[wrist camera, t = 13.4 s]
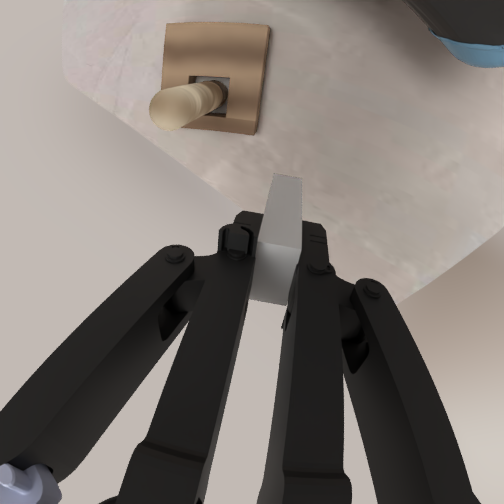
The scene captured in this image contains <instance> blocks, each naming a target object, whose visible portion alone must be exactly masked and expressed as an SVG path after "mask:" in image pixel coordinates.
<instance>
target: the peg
mask: <svg viewBox="0 0 504 504" xmlns="http://www.w3.org/2000/svg"><path fill="white" fill-rule="evenodd" d="M227 98H228V90H227V88H226V86H225V85H224V84H223V83H221V82H220V81H216V80H211V81H203V82H199V83H193V84H187V85H182V86H177V87H172V88H167V89H163V90H161V91H159V92H158V93H157V94H155V96H154V97H153V98H152V100H151V103H150V106H149V113H150V117H151V119H152V121H153V123H154V124H155V125H156V126H157V127H159V128H160V129H163V130H166V131H173V130H177V129H179V128H181V127H183V126H184V125H186V124H188V123H190V122H192V121H194V120H195V119H197V118H199V117H201V116H203V115H205V114H207V113H209V112H211V111H213V110H215V109H217V108H219V107H221V106H222V105H223V104H224V103H225V102H226V101H227Z"/></svg>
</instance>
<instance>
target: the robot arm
mask: <svg viewBox="0 0 504 504" xmlns="http://www.w3.org/2000/svg"><path fill="white" fill-rule="evenodd" d="M403 1H404V2H405V3H406V4H407V5H408V6H409V7H410V8H411V9H412V10H413V11H414V12H415V13H416V14H417V15H418V16H419V18H420V19H421V20H422V21H423V22H424V23H425V24H426V25H427V26H428V29H429V31H430V32H431V33H432V34H433V35H434V36H435V37H437V38H438V39H439V40H440V41H441V42H442V43H443V44H444V45H445V46H446V47H447V49H448V50H449V51H450V52H451V53H452V54H453V55H454V56H455V57H456V58H457V59H459V60H461V61H462V62H464V63H466V64H468V65H471V66H475V67H482V68H496V67H504V0H403ZM249 299H251V300H257V301H262V302H268V303H273V304H279V305H285V306H286V305H287V301H288V306H287V310H286V313H285V316H284V320H283V323H282V326H281V328H282V329H283V337H282V346H281V355H280V363H279V372H278V381H277V388H276V396H275V403H274V411H273V418H272V425H271V432H270V439H269V447H268V453H267V459H266V465H265V472H264V478H263V483H262V486H261V489H260V492H259V496H258V500H257V504H351V503H352V485H351V482H350V479H349V477H348V476H347V475H346V474H345V473H344V470H343V452H344V451H343V450H344V392H343V391H344V388H343V374H344V378H345V381H346V384H347V388H348V391H349V394H350V398H351V401H352V405H353V408H354V412H355V415H356V418H357V422H358V426H359V430H360V433H361V437H362V440H363V445H364V448H365V452H366V456H367V460H368V464H369V468H370V472H371V476H372V480H373V485H374V489H375V493H376V498H377V502H378V504H481V503H480V502H479V500H478V499H477V497H476V496H475V495H474V493H473V492H472V488H471V485H470V481H469V478H468V474H467V471H466V468H465V464H464V461H463V458H462V455H461V452H460V449H459V446H458V443H457V440H456V438H455V435H454V432H453V429H452V426H451V424H450V421H449V419H448V416H447V413H446V411H445V408H444V406H443V403H442V401H441V399H440V396H439V394H438V391H437V389H436V387H435V385H434V382H433V380H432V378H431V375H430V373H429V371H428V369H427V366H426V364H425V362H424V360H423V358H422V356H421V354H420V352H419V350H418V347H417V345H416V343H415V341H414V339H413V337H412V335H411V333H410V331H409V329H408V327H407V325H406V323H405V321H404V320H403V318H402V316H401V314H400V312H399V310H398V308H397V306H396V304H395V303H394V301H393V299H392V297H391V295H390V293H389V292H388V290H387V289H386V288H385V286H384V285H382V284H381V283H380V282H378V281H376V280H373V279H369V278H363V279H360V280H358V281H357V282H356V284H355V285H354V284H351V283H349V282H347V281H344V280H343V279H341V278H339V277H338V276H336V272H335V269H334V267H333V266H332V265H331V264H330V263H329V254H328V245H327V236H326V230H325V229H324V228H323V226H322V225H321V224H318V223H313V222H308V221H302V178H297V177H292V176H286V175H281V174H275V173H274V175H273V179H272V183H271V187H270V191H269V195H268V199H267V204H266V208H265V212H264V214H260V213H254V212H248V211H242V212H240V213H239V214H238V215H236V217H235V220H234V223H233V224H227V225H225V226H223V227H222V228H221V229H220V230H219V239H218V251H217V253H216V254H213V255H209V256H194V252H193V251H192V250H191V249H190V248H188V247H186V246H182V245H170V246H166V247H164V248H162V249H161V250H159V251H158V252H157V253H156V254H155V255H154V256H153V257H151V258H150V259H149V260H148V261H147V262H146V263H145V264H144V265H143V266H141V268H139V269H138V270H137V271H136V272H135V273H134V274H133V275H132V276H130V277H129V278H128V279H127V280H126V281H125V282H124V283H123V284H122V285H121V286H120V287H119V288H118V289H116V290H115V291H114V292H113V293H112V294H111V295H110V296H109V297H108V298H107V299H106V300H105V301H104V302H103V303H102V304H101V305H100V306H99V307H98V308H97V309H96V310H95V311H94V312H92V313H91V314H90V315H89V316H88V317H87V318H86V319H85V320H84V321H83V322H82V323H81V324H80V325H79V327H77V328H76V329H75V330H74V331H73V332H72V333H71V335H69V336H68V338H67V339H66V340H65V341H64V342H63V343H62V344H61V345H60V346H59V347H58V348H57V349H56V350H55V351H54V352H53V353H52V354H51V355H50V356H49V357H48V358H47V359H46V361H45V362H44V363H43V364H42V365H41V366H40V367H39V368H38V369H37V371H35V372H34V374H33V375H32V376H31V377H30V378H29V379H28V380H27V381H26V382H25V384H24V385H23V386H22V387H21V388H20V390H18V392H17V393H16V394H15V395H14V396H13V397H12V399H11V400H10V401H9V402H8V403H7V404H6V406H5V407H4V408H3V409H2V411H0V504H58V502H60V500H61V499H62V494H61V491H60V489H59V486H58V483H59V482H61V481H62V480H64V479H65V478H66V477H67V476H69V475H70V474H71V473H72V472H73V471H74V470H75V469H76V468H77V467H78V466H79V464H80V463H81V462H82V461H83V460H84V458H85V457H86V456H87V455H88V453H89V452H90V450H91V449H92V447H93V446H94V445H95V444H96V442H97V441H98V440H99V438H100V437H101V435H102V434H103V433H104V432H105V430H106V429H107V428H108V426H109V425H110V424H111V422H112V421H113V420H114V418H115V417H116V416H117V414H118V413H119V412H120V411H121V409H122V408H123V407H124V405H125V404H126V402H127V401H128V400H129V399H130V397H131V396H132V395H133V393H134V392H135V391H136V389H137V388H138V387H139V385H140V384H141V383H142V381H143V380H144V379H145V377H146V376H147V375H148V374H149V372H150V371H151V370H152V368H153V367H154V366H155V364H156V363H157V362H158V360H159V359H160V358H161V356H162V355H163V354H164V353H165V351H166V350H167V349H168V347H169V346H170V345H171V343H172V342H173V341H174V339H175V338H176V337H177V336H178V334H179V333H180V332H181V330H182V329H183V328H184V326H185V325H186V324H187V323H188V321H189V323H188V325H187V328H186V330H185V333H184V336H183V338H182V341H181V343H180V346H179V349H178V351H177V354H176V357H175V359H174V362H173V365H172V367H171V370H170V373H169V375H168V378H167V381H166V384H165V386H164V389H163V392H162V394H161V397H160V400H159V402H158V405H157V408H156V411H155V414H154V417H153V419H152V422H151V425H150V428H149V431H148V433H147V436H146V437H145V439H144V440H143V441H142V442H141V443H139V444H138V445H137V447H136V448H135V450H134V452H133V454H132V457H131V459H130V461H129V464H128V467H127V470H126V473H125V476H124V479H123V483H122V485H121V488H120V491H119V494H118V496H115V497H112V498H109V499H107V500H105V501H103V502H101V503H99V504H203V502H204V499H205V494H206V490H207V485H208V479H209V474H210V470H211V465H212V461H213V457H214V452H215V448H216V444H217V440H218V435H219V431H220V427H221V422H222V418H223V414H224V409H225V405H226V401H227V396H228V392H229V387H230V383H231V378H232V374H233V370H234V365H235V361H236V356H237V352H238V348H239V343H240V339H241V334H242V330H243V325H244V320H245V316H246V312H247V306H248V300H249Z"/></svg>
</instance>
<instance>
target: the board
mask: <svg viewBox="0 0 504 504" xmlns="http://www.w3.org/2000/svg"><path fill="white" fill-rule="evenodd" d="M269 35H270V27H269V26H268V25H260V24H248V23H229V22H188V23H169V24H166V33H165V43H164V54H163V67H162V83H161V90H163V89H167V88H172V87H177V86H182V85H187V84H193V83H195V80H196V76H214V77H229V78H230V82H229V92H228V102H227V112H226V114H222V113H212V112H209V113H207V114H205V115H203V116H201V117H199V118H197V119H195V120H194V121H192V122H190V123H188V124H186V125H184V126H183V127H181V128H191V129H203V130H213V131H222V132H231V133H239V134H246V135H253V136H254V134H255V133H256V131H257V124H258V117H259V109H260V101H261V94H262V86H263V79H264V71H265V64H266V57H267V49H268V42H269Z"/></svg>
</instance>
